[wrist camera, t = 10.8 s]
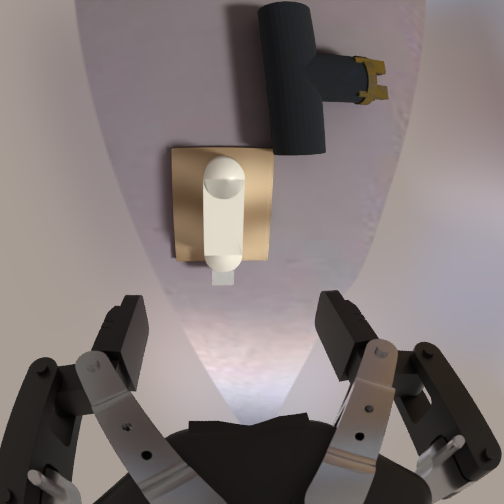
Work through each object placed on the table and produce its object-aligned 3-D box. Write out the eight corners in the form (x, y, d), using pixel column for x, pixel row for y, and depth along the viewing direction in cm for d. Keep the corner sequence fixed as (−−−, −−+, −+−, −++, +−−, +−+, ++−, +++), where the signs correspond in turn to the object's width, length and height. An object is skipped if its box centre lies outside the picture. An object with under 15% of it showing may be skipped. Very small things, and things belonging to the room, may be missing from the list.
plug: (205, 155, 25) (203, 158, 22) (241, 155, 26) (245, 159, 22) (206, 273, 31) (206, 293, 27) (238, 273, 31) (241, 292, 28)
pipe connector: (378, 13, 17) (394, 153, 23) (356, 27, 21) (368, 148, 28) (261, 0, 16) (279, 156, 22) (254, 20, 21) (269, 152, 27)
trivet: (172, 148, 25) (171, 148, 25) (273, 148, 27) (274, 149, 26) (177, 258, 30) (176, 261, 30) (266, 257, 31) (267, 259, 31)
